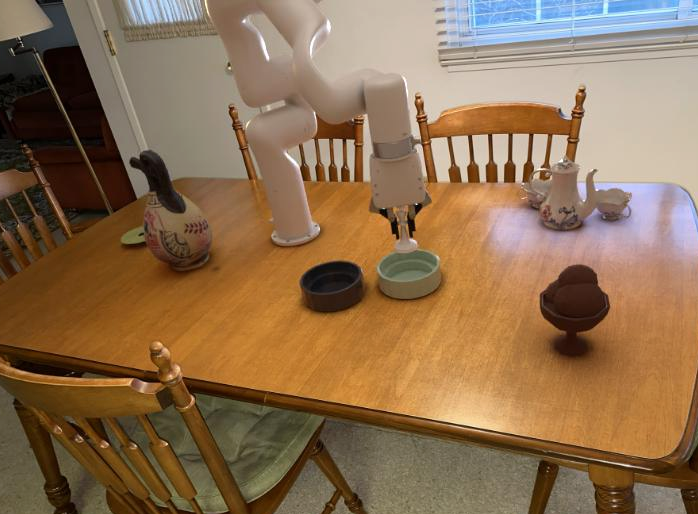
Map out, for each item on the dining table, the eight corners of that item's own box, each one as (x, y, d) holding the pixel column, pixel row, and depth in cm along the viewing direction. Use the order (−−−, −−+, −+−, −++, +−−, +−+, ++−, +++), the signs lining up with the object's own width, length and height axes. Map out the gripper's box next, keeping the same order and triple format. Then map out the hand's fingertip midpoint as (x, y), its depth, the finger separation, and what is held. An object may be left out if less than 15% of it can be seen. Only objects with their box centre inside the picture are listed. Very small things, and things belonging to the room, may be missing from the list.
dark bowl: (291, 300, 118) (286, 282, 115) (336, 272, 125) (332, 254, 123) (333, 320, 110) (328, 301, 107) (378, 288, 117) (375, 270, 115)
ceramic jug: (147, 268, 139) (97, 154, 123) (199, 242, 148) (159, 132, 131) (181, 287, 129) (131, 165, 112) (235, 258, 138) (196, 140, 121)
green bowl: (366, 288, 118) (363, 270, 115) (407, 260, 125) (404, 243, 123) (413, 307, 110) (411, 288, 107) (453, 276, 117) (452, 258, 114)
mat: (131, 253, 148) (128, 247, 147) (117, 242, 156) (114, 236, 154) (170, 237, 154) (168, 230, 152) (155, 226, 161) (152, 220, 160)
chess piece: (415, 253, 110) (410, 207, 104) (391, 253, 111) (385, 208, 106) (419, 241, 114) (414, 196, 108) (396, 241, 115) (389, 197, 110)
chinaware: (636, 215, 131) (647, 145, 123) (620, 241, 119) (630, 165, 111) (522, 202, 145) (525, 138, 137) (498, 224, 133) (499, 155, 125)
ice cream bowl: (528, 332, 98) (529, 259, 90) (590, 322, 98) (597, 249, 90) (548, 371, 89) (552, 294, 81) (616, 360, 89) (626, 282, 81)
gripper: (433, 134, 104) (441, 222, 114) (350, 146, 104) (365, 232, 115) (438, 146, 97) (446, 238, 108) (349, 160, 98) (365, 250, 108)
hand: (404, 235), depth 111 cm, fingers closed on chess piece
